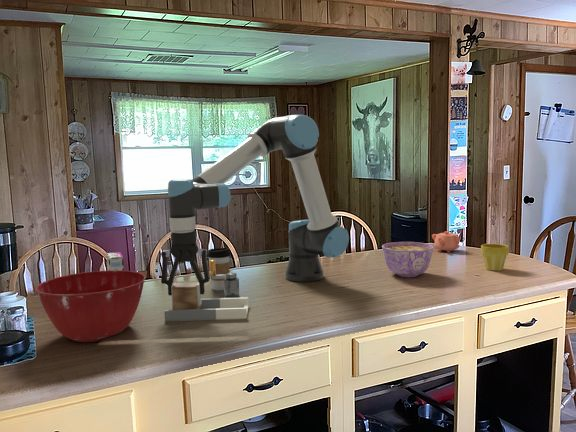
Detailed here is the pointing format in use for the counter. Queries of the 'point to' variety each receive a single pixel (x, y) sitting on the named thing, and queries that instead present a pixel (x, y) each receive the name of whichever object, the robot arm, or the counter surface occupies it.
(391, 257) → the bowl of food
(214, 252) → the coffee cup
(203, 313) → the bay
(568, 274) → the counter surface
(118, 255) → the candy bar box
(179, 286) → the crate
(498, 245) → the plant pot
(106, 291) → the mixing bowl
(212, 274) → the crank
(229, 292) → the winch
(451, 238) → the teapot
